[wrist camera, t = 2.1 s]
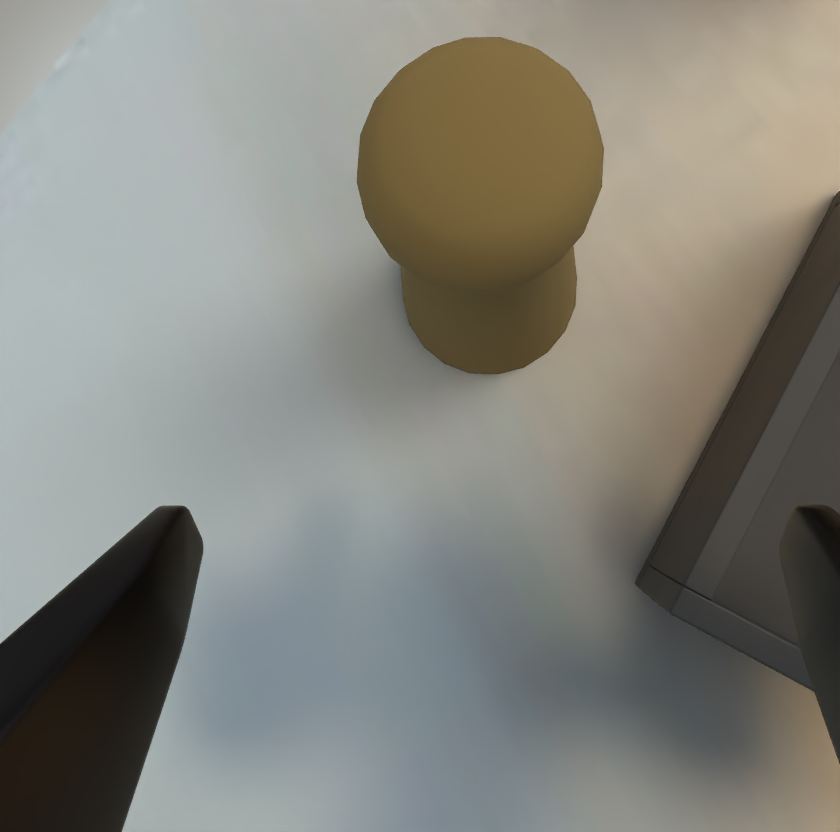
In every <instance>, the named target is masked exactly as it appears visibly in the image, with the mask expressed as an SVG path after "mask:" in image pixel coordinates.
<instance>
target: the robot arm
mask: <svg viewBox="0 0 840 832" xmlns="http://www.w3.org/2000/svg"><path fill="white" fill-rule="evenodd" d="M779 554H780V560H781V565H782V569H783V574H784V578H785V583H786V587H787V592H788V596H789V601H790V605H791V609H792V614H793V618H794V623H795V627H796V632H797V636H798V641H799V645H800V649H801V653H802V657H803V660H804V663H805V666H806V669H807V672H808V675H809V678H810V681H811V684H812V687H813V689H814V692H815V695H816V698H817V701H818V704H819V706H820V709H821V712H822V715H823V718H824V721H825V723H826V726H827V729H828V732H829V735H830V738H831V740H832V743H833V746H834V749H835V752H836V755H837V757H838V760H839V763H840V514H838V513H837V512H836V511H835V510H834V509H832V508H831V507H829V506H826V505H797V506H796V507H795V508H793V510H792V512H791V514H790V517H789V520H788V522H787V525H786V528H785V530H784V533H783V535H782V538H781V541H780V546H779ZM202 555H203V541H202V537H201V535H200V533H199V531H198V528H197V526H196V524H195V522H194V520H193V518H192V515H191V513H190V511H189V510H188V509H187V508H186V507H185V506H160V507H158V508H157V509H155V510H154V511H153V512H152V513H150V514H149V515H148V516H147V517H146V518H145V519H144V520H142V521H141V522H140V523H139V524H138V525H137V526H135V527H134V528H133V529H132V530H131V531H130V532H129V533H127V534H126V535H125V536H124V537H123V538H122V539H120V540H119V541H118V542H117V543H116V544H115V545H114V546H112V547H111V548H110V549H109V550H108V551H107V552H105V553H104V554H103V555H102V556H101V557H100V558H99V559H97V560H96V561H95V562H94V563H93V564H92V565H90V566H89V567H88V568H87V569H86V570H85V571H84V572H82V573H81V574H80V575H79V576H78V577H77V578H76V579H74V580H73V581H72V582H71V583H70V584H69V585H67V586H66V587H65V588H64V589H63V590H62V591H61V592H59V593H58V594H57V595H56V596H55V597H54V598H52V599H51V600H50V601H49V602H48V603H47V604H46V605H44V606H43V607H42V608H41V609H40V610H39V611H37V612H36V613H35V614H34V615H33V616H32V617H31V618H29V619H28V620H27V621H26V622H25V623H24V624H22V625H21V626H20V627H19V628H18V629H17V630H16V631H14V632H13V633H12V634H11V635H10V636H9V637H8V638H6V639H5V640H4V641H3V642H2V643H1V644H0V832H122V829H123V826H124V823H125V820H126V817H127V814H128V811H129V808H130V805H131V802H132V799H133V796H134V793H135V790H136V787H137V784H138V781H139V778H140V775H141V772H142V768H143V765H144V762H145V759H146V756H147V753H148V750H149V747H150V744H151V741H152V738H153V735H154V732H155V729H156V726H157V723H158V720H159V717H160V714H161V711H162V708H163V705H164V702H165V699H166V696H167V693H168V690H169V687H170V684H171V681H172V678H173V675H174V671H175V668H176V665H177V662H178V659H179V656H180V653H181V650H182V646H183V643H184V639H185V635H186V631H187V627H188V622H189V617H190V612H191V608H192V603H193V598H194V593H195V589H196V584H197V579H198V574H199V570H200V565H201V560H202Z"/></svg>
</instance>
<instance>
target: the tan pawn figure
mask: <svg viewBox="0 0 840 832" xmlns="http://www.w3.org/2000/svg"><path fill="white" fill-rule="evenodd" d="M603 153H604V147H603V143H602V139H601V135H600V131H599V128H598V125H597V121H596V118H595V114H594V111H593V108H592V104H591V101H590V99H589V98H588V97H587V95H586V94H585V92H584V91H583V90H582V88H581V87H580V86H579V84H578V83H577V81H576V80H575V79H574V77H573V76H572V74H571V73H570V72H569V71H568V70H567V69H565V68H564V67H563V66H561V65H560V64H558V63H557V62H555V61H554V60H553V59H551V58H550V57H548V56H547V55H545V54H544V53H543V52H541V51H540V50H538V49H536V48H534V47H531V46H527V45H524V44H521V43H517V42H514V41H511V40H507V39H504V38H501V37H481V38H463V39H460V40H456V41H453V42H450V43H447V44H444V45H441V46H437V47H434V48H432V49H430V50H429V51H427V52H426V53H424V54H423V55H421V56H420V57H418V58H417V59H415V60H414V61H412V62H411V63H409V64H408V65H406V66H405V67H403V68H402V69H401V70H400V71H399V72H398V73H397V74H396V75H395V76H394V77H393V79H392V80H391V81H390V82H389V84H388V85H387V86H386V87H385V88H384V90H383V91H382V92H381V93H380V94H379V96H378V97H377V98H376V99H375V101H374V103H373V105H372V108H371V110H370V112H369V115H368V117H367V120H366V122H365V125H364V127H363V129H362V132H361V134H360V145H359V158H358V170H357V185H358V189H359V193H360V197H361V201H362V205H363V209H364V213H365V217H366V219H367V221H368V223H369V224H370V226H371V228H372V229H373V231H374V233H375V234H376V236H377V237H378V239H379V240H380V242H381V243H382V245H383V247H384V248H385V250H386V251H387V253H388V254H389V256H390V257H391V258H392V259H393V260H395V261H396V262H397V263H398V264H400V265H401V277H402V290H403V300H404V304H405V308H406V312H407V316H408V320H409V324H410V326H411V327H412V329H413V330H414V332H415V334H416V335H417V337H418V338H419V340H420V341H421V343H422V345H423V346H424V347H425V348H426V349H427V350H429V351H430V352H431V353H432V354H434V355H435V356H436V357H437V358H439V359H440V360H441V361H442V362H443V363H445V364H448V365H450V366H453V367H456V368H458V369H461V370H464V371H466V372H469V373H483V374H500V373H503V372H507V371H511V370H515V369H519V368H522V367H525V366H526V365H528V364H530V363H531V362H533V361H534V360H536V359H537V358H539V357H541V356H542V355H544V354H545V353H547V352H548V351H549V350H550V348H551V347H552V346H553V345H554V344H555V342H556V341H557V340H558V339H559V338H560V336H561V335H562V334H563V333H564V332H565V330H566V327H567V325H568V322H569V320H570V317H571V315H572V312H573V310H574V307H575V300H576V282H577V277H576V267H575V257H574V247H573V245H574V244H575V243H576V242H577V240H578V239H579V238H580V237H581V236H582V234H583V233H584V231H585V228H586V226H587V223H588V221H589V218H590V216H591V213H592V211H593V208H594V206H595V203H596V201H597V198H598V195H599V193H600V190H601V187H602V173H603Z"/></svg>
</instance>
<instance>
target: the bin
mask: <svg viewBox="0 0 840 832" xmlns="http://www.w3.org/2000/svg"><path fill="white" fill-rule="evenodd" d="M797 505H826V506H829V507H831V508H832V509H834V510H835V511H836V512H837V513H838V514H840V191H839V192H838V193H837V194H836V196H835V198H834V200H833V202H832V204H831V206H830V208H829V210H828V212H827V214H826V215H825V217H824V219H823V221H822V223H821V225H820V227H819V229H818V231H817V233H816V235H815V237H814V239H813V241H812V242H811V244H810V246H809V248H808V250H807V252H806V254H805V256H804V258H803V260H802V262H801V264H800V266H799V267H798V269H797V271H796V273H795V275H794V277H793V279H792V281H791V283H790V285H789V287H788V289H787V291H786V293H785V294H784V296H783V298H782V300H781V302H780V304H779V306H778V308H777V310H776V312H775V314H774V316H773V318H772V320H771V321H770V323H769V325H768V327H767V329H766V331H765V333H764V335H763V337H762V339H761V341H760V343H759V345H758V347H757V348H756V350H755V352H754V354H753V356H752V358H751V360H750V362H749V364H748V366H747V368H746V370H745V372H744V374H743V375H742V377H741V379H740V381H739V383H738V385H737V387H736V389H735V391H734V393H733V395H732V397H731V399H730V401H729V402H728V404H727V406H726V408H725V410H724V412H723V414H722V416H721V418H720V420H719V422H718V424H717V426H716V428H715V429H714V431H713V433H712V435H711V437H710V439H709V441H708V443H707V445H706V447H705V449H704V451H703V453H702V455H701V456H700V458H699V460H698V462H697V464H696V466H695V468H694V470H693V472H692V474H691V476H690V478H689V480H688V482H687V483H686V485H685V487H684V489H683V491H682V493H681V495H680V497H679V499H678V501H677V503H676V505H675V507H674V509H673V510H672V512H671V514H670V516H669V518H668V520H667V522H666V524H665V526H664V528H663V530H662V532H661V534H660V536H659V537H658V539H657V541H656V543H655V545H654V547H653V549H652V551H651V553H650V555H649V557H648V559H647V561H646V563H645V564H644V566H643V568H642V570H641V572H640V574H639V576H638V578H637V580H636V582H635V585H636V586H637V587H639V588H640V589H641V590H642V591H644V592H645V593H646V594H647V595H648V596H650V597H651V598H652V599H653V600H654V601H656V602H657V603H658V604H659V605H660V606H662V607H663V608H664V609H665V610H666V611H668V612H669V613H670V614H671V615H673V616H675V617H677V618H679V619H681V620H683V621H684V622H686V623H688V624H690V625H692V626H694V627H696V628H697V629H699V630H701V631H703V632H705V633H707V634H708V635H710V636H712V637H714V638H716V639H718V640H720V641H721V642H723V643H725V644H727V645H729V646H731V647H733V648H734V649H736V650H738V651H740V652H742V653H744V654H745V655H747V656H749V657H751V658H753V659H755V660H757V661H758V662H760V663H762V664H764V665H766V666H768V667H770V668H771V669H773V670H775V671H777V672H779V673H781V674H783V675H784V676H786V677H788V678H790V679H792V680H794V681H795V682H797V683H799V684H801V685H803V686H805V687H807V688H808V689H810V690H812V691H814V689H813V687H812V684H811V681H810V678H809V675H808V672H807V669H806V666H805V663H804V660H803V657H802V653H801V649H800V645H799V641H798V636H797V632H796V627H795V623H794V618H793V614H792V609H791V605H790V601H789V596H788V592H787V587H786V583H785V578H784V574H783V569H782V565H781V560H780V554H779V546H780V541H781V538H782V535H783V533H784V530H785V528H786V525H787V522H788V520H789V517H790V514H791V512H792V510H793V508H795V507H796V506H797Z"/></svg>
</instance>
